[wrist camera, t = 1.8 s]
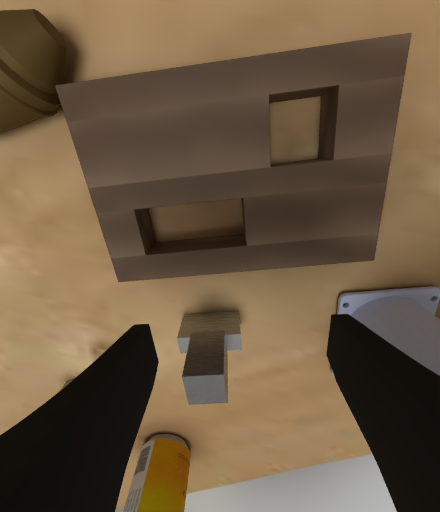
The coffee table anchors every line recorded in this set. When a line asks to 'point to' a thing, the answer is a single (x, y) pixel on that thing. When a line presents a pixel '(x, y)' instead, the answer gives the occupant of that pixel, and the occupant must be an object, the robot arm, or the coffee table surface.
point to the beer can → (160, 476)
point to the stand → (241, 157)
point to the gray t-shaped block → (208, 354)
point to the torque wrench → (29, 67)
